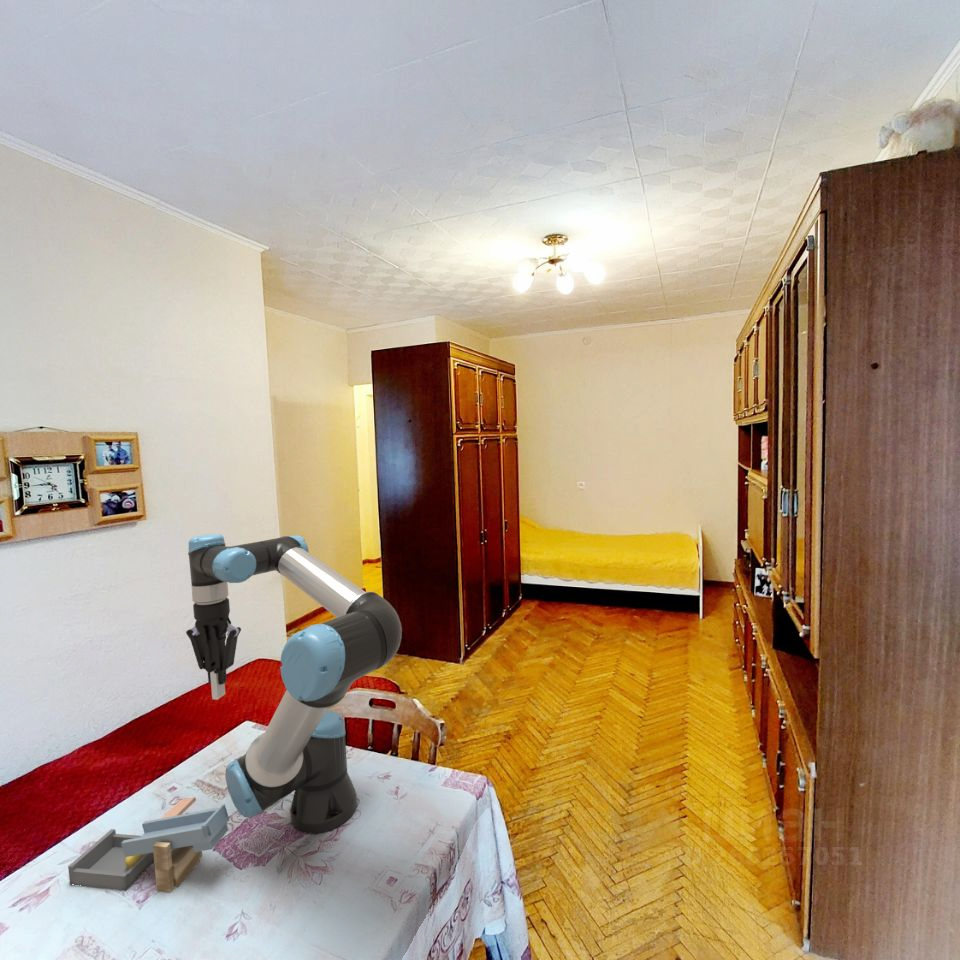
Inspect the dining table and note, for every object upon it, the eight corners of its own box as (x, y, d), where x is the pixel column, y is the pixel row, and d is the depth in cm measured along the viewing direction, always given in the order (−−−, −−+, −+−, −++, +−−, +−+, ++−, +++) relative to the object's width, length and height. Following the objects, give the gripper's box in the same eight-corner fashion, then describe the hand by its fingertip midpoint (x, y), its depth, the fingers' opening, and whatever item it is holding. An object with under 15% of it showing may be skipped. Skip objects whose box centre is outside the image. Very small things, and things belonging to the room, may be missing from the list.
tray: (164, 850, 109) (163, 833, 109) (126, 890, 99) (124, 871, 99) (113, 846, 111) (111, 829, 111) (70, 885, 101) (68, 866, 101)
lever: (258, 796, 113) (252, 774, 113) (211, 852, 98) (203, 826, 98) (183, 810, 117) (177, 789, 117) (126, 866, 101) (118, 842, 101)
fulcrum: (204, 856, 107) (200, 813, 107) (172, 892, 98) (168, 847, 98) (187, 854, 108) (184, 812, 107) (154, 891, 99) (150, 845, 99)
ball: (147, 861, 106) (147, 847, 106) (134, 874, 103) (135, 859, 103) (133, 857, 107) (134, 843, 106) (120, 870, 103) (121, 856, 103)
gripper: (246, 595, 121) (253, 689, 122) (197, 595, 123) (205, 688, 124) (225, 605, 113) (233, 705, 115) (174, 605, 115) (183, 703, 117)
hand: (218, 696), depth 120 cm, fingers closed
